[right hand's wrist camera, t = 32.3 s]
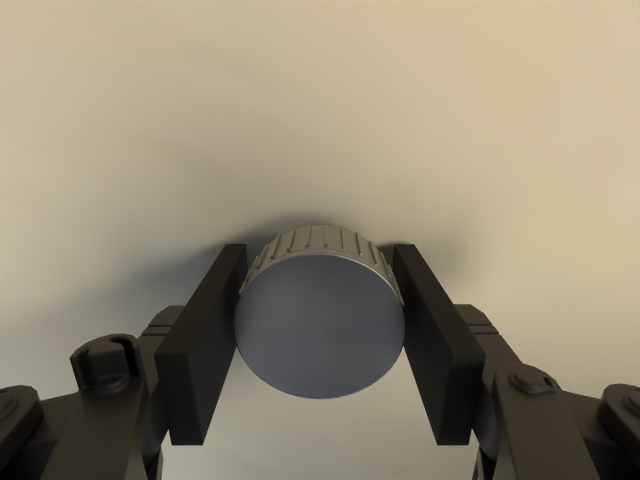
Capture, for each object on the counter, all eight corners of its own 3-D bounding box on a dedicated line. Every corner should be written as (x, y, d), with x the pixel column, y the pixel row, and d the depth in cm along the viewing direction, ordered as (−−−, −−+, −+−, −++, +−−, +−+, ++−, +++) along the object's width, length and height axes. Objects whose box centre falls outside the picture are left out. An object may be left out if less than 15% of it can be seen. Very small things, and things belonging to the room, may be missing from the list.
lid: (416, 245, 12) (436, 278, 10) (366, 366, 14) (374, 417, 12) (265, 203, 12) (251, 228, 10) (234, 334, 14) (216, 379, 11)
